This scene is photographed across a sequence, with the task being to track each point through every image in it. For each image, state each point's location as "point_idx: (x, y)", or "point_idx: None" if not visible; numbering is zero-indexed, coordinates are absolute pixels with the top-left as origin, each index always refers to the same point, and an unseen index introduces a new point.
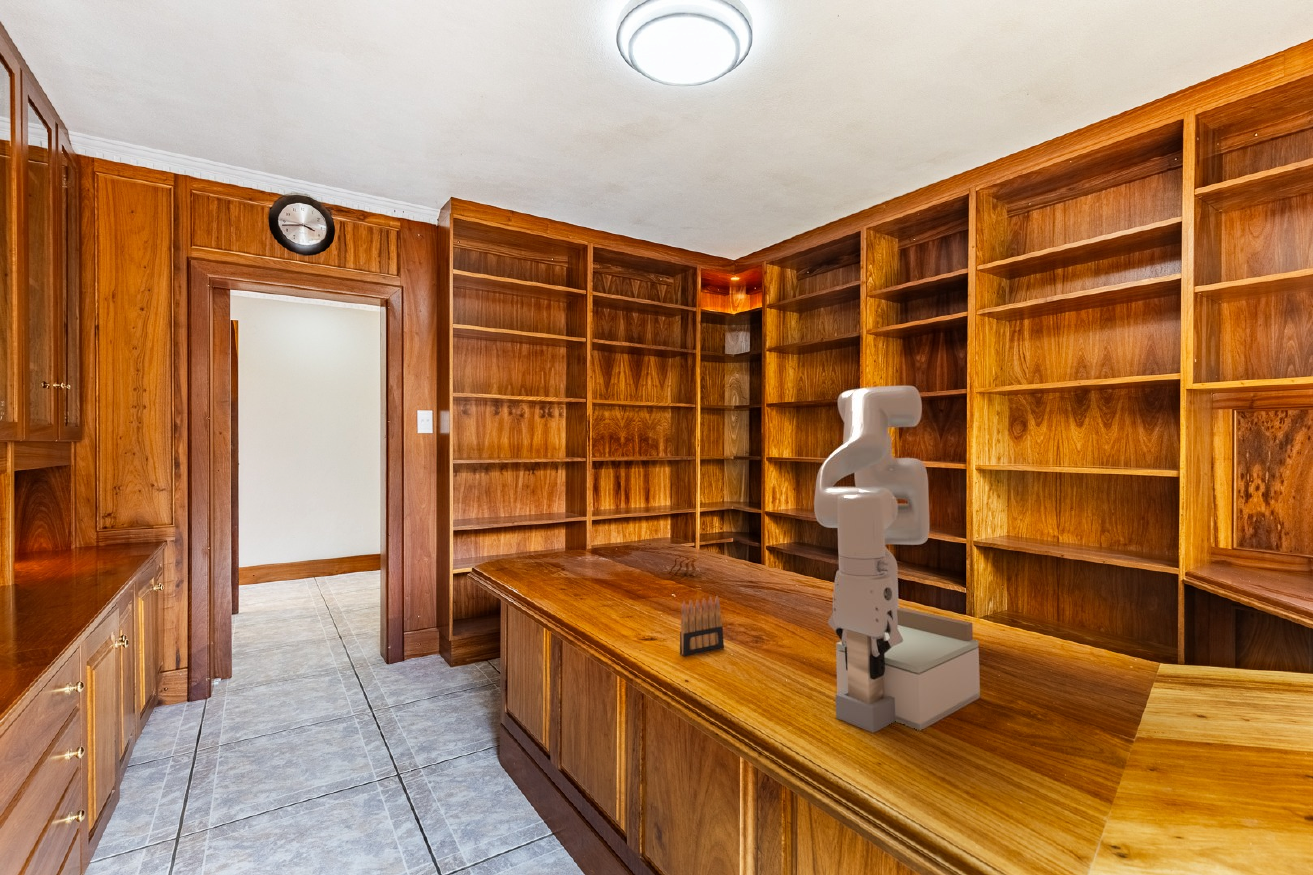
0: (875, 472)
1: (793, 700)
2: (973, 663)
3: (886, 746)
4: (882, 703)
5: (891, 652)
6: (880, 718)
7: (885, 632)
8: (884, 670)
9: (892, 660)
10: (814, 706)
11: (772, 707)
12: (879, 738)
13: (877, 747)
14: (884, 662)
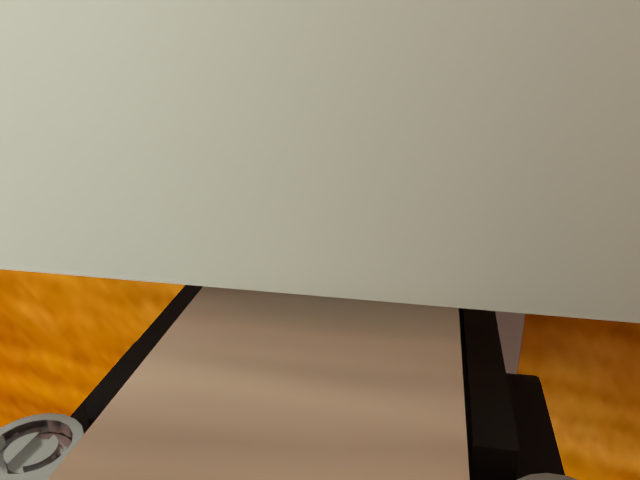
0: None
1: (21, 296)
2: None
3: (615, 418)
4: (522, 326)
5: (448, 68)
6: None
7: None
8: (536, 381)
9: (596, 313)
10: (124, 284)
11: (34, 412)
12: (549, 371)
13: (585, 449)
14: (552, 435)
